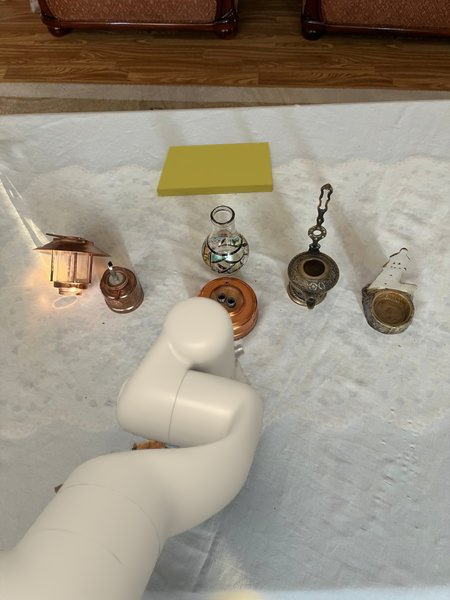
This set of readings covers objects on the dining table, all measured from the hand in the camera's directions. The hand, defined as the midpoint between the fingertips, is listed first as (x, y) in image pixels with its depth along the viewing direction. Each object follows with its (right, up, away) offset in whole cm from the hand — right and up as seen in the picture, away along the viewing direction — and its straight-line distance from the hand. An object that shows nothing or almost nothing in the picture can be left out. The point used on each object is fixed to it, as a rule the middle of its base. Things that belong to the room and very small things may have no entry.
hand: (212, 414), depth 79 cm
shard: (-10, -10, +3) cm, 15 cm away
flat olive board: (0, +45, +34) cm, 56 cm away
